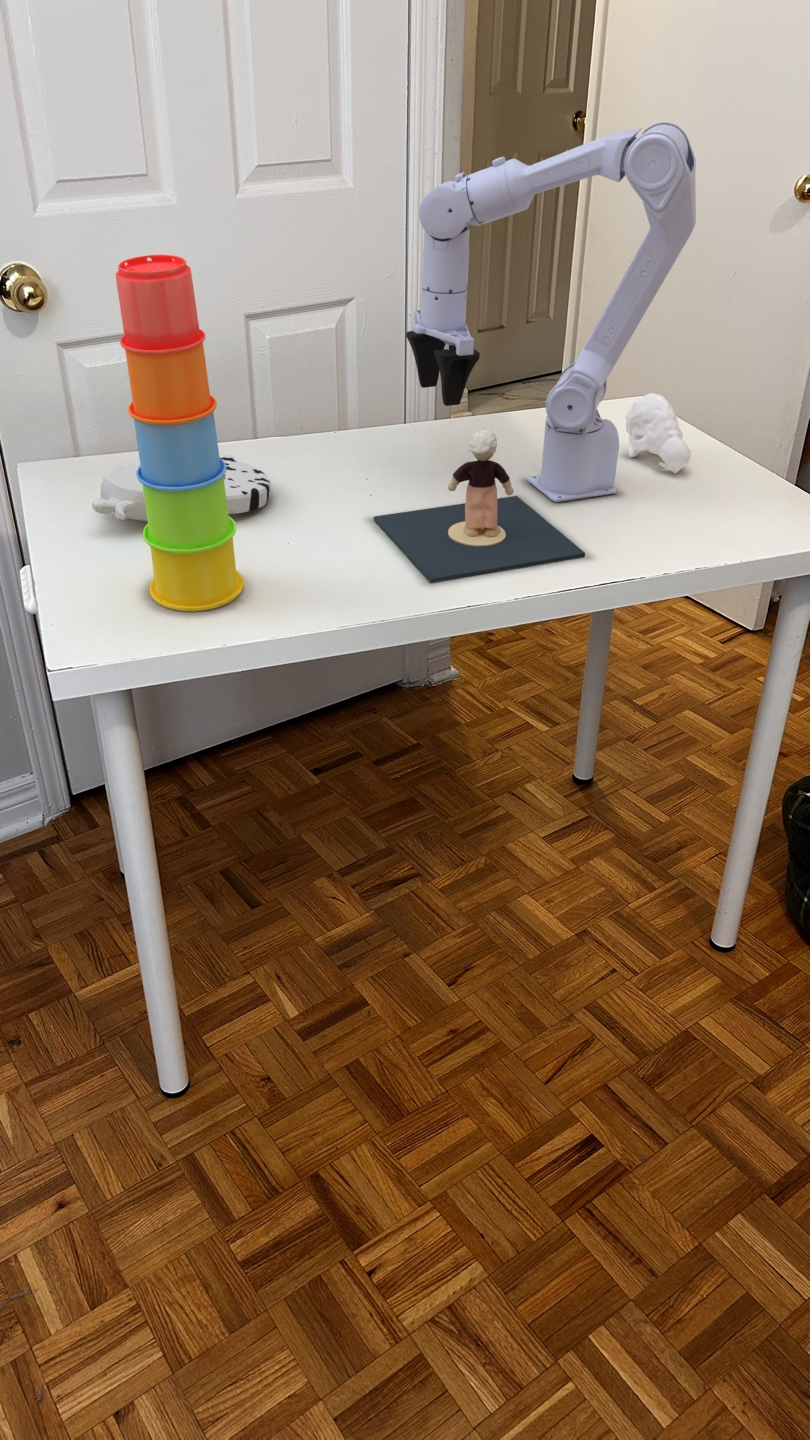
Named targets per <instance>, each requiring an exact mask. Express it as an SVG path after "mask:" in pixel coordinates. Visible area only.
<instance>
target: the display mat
mask: <svg viewBox="0 0 810 1440" xmlns="http://www.w3.org/2000/svg"><path fill="white" fill-rule="evenodd" d="M465 503H466V502H464V503H457V504H451V505H444V506H437V507H430V508H423V509H415V510H409V511H404V512H395V513H389V514H381V515H375V516H373V521H374V522H375V523H376V524H377V526H378V527H379V528H380V529H381V530H382V531H383V532H384V533H385V535H387V536H388V538H389V539H390V540H391V541H392V542H393V543H394V544H395V546H396V547H397V548H398V549H399V550H400V551H401V552H402V553H403V554H404V556H406V557H407V558H408V560H409V561H410V562H411V563H412V565H414V566H415V567H416V568H417V570H418V571H419V572H420V573H421V574H422V575H423V576H424V577H425V579H426V580H427V581H428V582H429V583H436V582H437V583H438V582H443V581H449V580H454V579H460V578H467V577H472V576H477V575H478V576H479V575H484V574H491V573H496V572H502V571H507V570H508V571H509V570H514V569H519V568H526V567H531V566H537V565H544V564H549V563H555V562H561V561H566V560H573V559H579V558H585V557H586V552H585V551H584V550H583V549H581V547H579V546H578V545H577V544H575V543H574V542H573V541H572V540H570V539H569V538H568V537H567V536H566V535H565V534H564V533H562V532H561V531H560V530H559V529H557V528H556V526H554V525H553V524H551V523H550V522H549V521H548V520H547V519H546V518H544V517H543V516H541V514H539V513H538V512H537V511H536V510H535V509H533V508H532V507H531V506H530V505H528V504H527V503H526V502H525V501H523V500H522V499H521V498H520V497H519V496H518V495H513V496H512V495H511V496H506V497H499V498H498V497H497V525H498V526H499V528H500V532H499V533H498V534H497V535H496V536H495V537H488V536H485V535H484V528H485V527H484V528H479V529H480V531H479V535H478V536H476V537H470V536H467V535H466V534H465V532H464V530H463V529H464V527H465V526H466V525H465Z"/></svg>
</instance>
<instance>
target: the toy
mask: <svg viewBox="0 0 810 1440" xmlns="http://www.w3.org/2000/svg"><path fill="white" fill-rule="evenodd" d="M220 458H221V459H222V460H223V461H224V462H225V464H226V472H225V474H224V483H225V492H226V500H227V508H228V515H235V514H236V515H237V514H242V513H247V512H253V511H255V510H258V509H260V508H262V507H264V506H265V505H266V504H268V501H269V499H270V496H271V486H272V485H271V481H270V479H269V477H268V475H267V474H266V473H265V472H263V471H262V470H261V469H259V468H257V467H255V466H253V465H250V464H249V463H248V464H247V463H244V462H241V461H237V460H235V457H234V456H233V455H231V454H225V455H223V457H220ZM139 466H140V463H129V464H123V465H118V466H115V467H111V468H110V469H108V470H107V471H106V472H105V474H104V475H103V477H102V480H101V484H100V497H98V498H96V499H94V500H93V501H92V502H91V508H92V510H94V511H95V513H98V514H101V515H108V514H110V513H114V517H115V518H116V520H120V521H124V520H126V519H131V520H134V521H141V522H148V521H147V514H146V506H145V499H144V492H143V486H142V484H141V483H140V482H139V481H138V479H137V476H136V472H137V469H138V468H139Z"/></svg>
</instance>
